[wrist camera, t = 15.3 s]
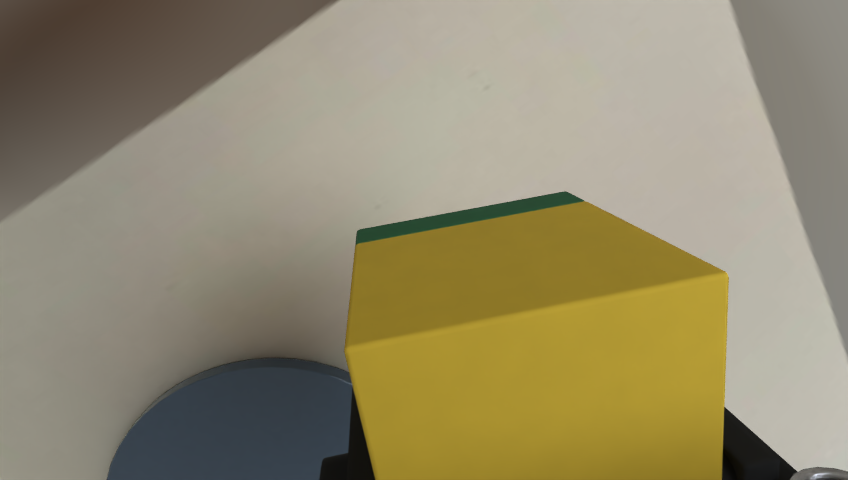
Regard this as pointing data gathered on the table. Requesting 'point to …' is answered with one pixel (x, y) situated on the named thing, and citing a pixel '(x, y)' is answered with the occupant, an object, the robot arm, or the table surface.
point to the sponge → (536, 347)
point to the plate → (241, 424)
